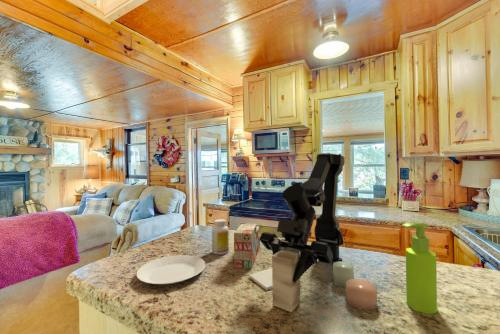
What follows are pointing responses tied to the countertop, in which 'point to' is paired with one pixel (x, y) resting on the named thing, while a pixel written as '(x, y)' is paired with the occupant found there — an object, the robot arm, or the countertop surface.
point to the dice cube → (290, 249)
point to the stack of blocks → (246, 245)
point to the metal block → (285, 280)
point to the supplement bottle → (220, 237)
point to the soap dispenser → (421, 272)
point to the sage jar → (342, 273)
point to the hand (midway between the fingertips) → (283, 278)
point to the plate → (171, 269)
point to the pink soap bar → (361, 294)
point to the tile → (263, 278)
